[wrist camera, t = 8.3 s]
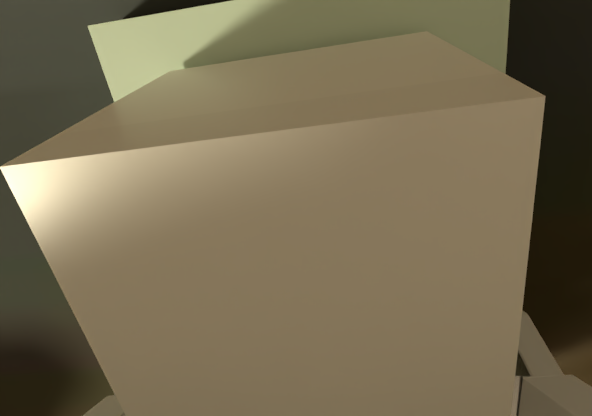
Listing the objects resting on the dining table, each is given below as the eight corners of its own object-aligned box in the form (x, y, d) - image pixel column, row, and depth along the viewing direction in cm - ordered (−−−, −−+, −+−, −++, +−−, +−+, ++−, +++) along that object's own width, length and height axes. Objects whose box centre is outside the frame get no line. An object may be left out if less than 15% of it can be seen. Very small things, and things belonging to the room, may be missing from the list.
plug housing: (170, 71, 9) (-1, 167, 4) (427, 31, 8) (544, 96, 4) (275, 446, 14) (250, 660, 10) (433, 442, 13) (483, 671, 9)
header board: (120, 19, 10) (-52, 52, 5) (486, -45, 9) (641, -69, 4) (247, 420, 16) (214, 584, 12) (468, 412, 15) (523, 591, 11)
